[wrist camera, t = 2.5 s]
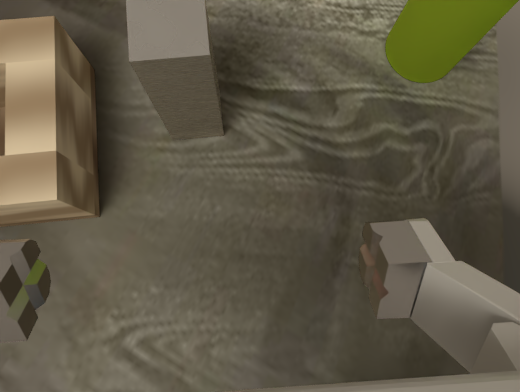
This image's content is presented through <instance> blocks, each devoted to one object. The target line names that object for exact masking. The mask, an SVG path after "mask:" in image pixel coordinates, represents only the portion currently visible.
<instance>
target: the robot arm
mask: <svg viewBox="0 0 520 392" xmlns="http://www.w3.org/2000/svg"><path fill="white" fill-rule="evenodd" d="M362 236H363V238H364V241H365V244H364V245H363V246H362V247H361V248H360V251H359V271H360V275H361V279H362V281H363V284H364V285H365V286H367V287H368V288H369V289H370V292H369V297H368V298H369V301H370V303H371V306H372V308H373V311H374V314H375V316H376V319H385V318H411V320H412V321H413V322H414V323H415V324H416V325H418V326H419V327H420V328H421V329H422V330H423V331H424V332H425V333H426V334H428V335H429V336H430V337H431V338H432V339H433V340H434V341H435V342H436V343H437V344H439V345H440V346H441V347H442V348H443V349H444V350H445V351H446V352H447V353H449V354H450V355H451V356H452V357H453V358H454V359H455V360H456V361H457V362H459V363H460V364H461V365H462V366H463V367H464V368H465V369H466V370H467V371H468V372H470V374H462V375H447V376H433V377H418V378H404V379H389V380H375V381H360V382H346V383H332V384H317V385H303V386H289V387H275V388H260V389H246V390H232V391H217V392H520V294H519V293H518V292H516V291H514V290H512V289H511V288H509V287H507V286H505V285H504V284H502V283H500V282H498V281H496V280H495V279H493V278H491V277H489V276H488V275H486V274H484V273H482V272H481V271H479V270H477V269H475V268H473V267H472V266H470V265H468V264H466V263H465V262H463V261H455V259H454V258H453V256H452V255H451V253H450V252H449V250H448V249H447V247H446V246H445V244H444V243H443V241H442V240H441V238H440V237H439V236H438V234H437V233H436V231H435V230H434V228H433V227H432V225H431V224H430V222H429V221H428V220H427V219H425V218H418V219H405V220H397V221H379V222H366V223H365V225H364V227H363V232H362ZM40 252H41V251H40V249H39V247H38V244H37V242H36V241H34V240H31V239H19V240H0V343H5V342H16V341H27V340H28V338H29V335H30V333H31V331H32V329H33V327H34V325H35V323H36V321H37V319H38V316H37V314H36V311H35V310H36V309H37V308H39V307H40V306H41V305H43V304H44V303H45V302H46V299H47V297H48V295H49V292H50V284H51V279H50V272H49V270H48V267H47V265H46V264H44V263H43V262H41V261H40V260H39V259H37V258H38V256H39V254H40Z"/></svg>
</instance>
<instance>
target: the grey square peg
mask: <svg viewBox="0 0 520 392" xmlns="http://www.w3.org/2000/svg"><path fill="white" fill-rule="evenodd" d="M126 9H127V28H128V47H129V62H130V64H131V66H132V68H133V69H134V71H135V73H136V75H137V76H138V78H139V80H140V82H141V84H142V85H143V87H144V89H145V91H146V93H147V94H148V96H149V98H150V100H151V102H152V103H153V105H154V107H155V109H156V111H157V112H158V114H159V116H160V118H161V120H162V121H163V123H164V125H165V127H166V129H167V130H168V132H169V134H170V136H171V138H172V139H173V140H182V139H193V138H203V137H214V136H224V131H223V121H222V110H221V100H220V89H219V83H218V76H217V70H216V63H215V57H214V51H213V44H212V38H211V31H210V25H209V18H208V12H207V6H206V0H126Z"/></svg>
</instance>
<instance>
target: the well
mask: <svg viewBox="0 0 520 392" xmlns="http://www.w3.org/2000/svg"><path fill="white" fill-rule="evenodd" d="M93 217H100V212H99V183H98V154H97V125H96V97H95V70H94V69H93V67H92V66H91V65H90V63H89V62H88V61H87V59H86V58H85V57H84V55H83V54H82V53H81V51H80V50H79V49H78V47H77V46H76V45H75V43H74V42H73V41H72V39H71V38H70V37H69V35H68V34H67V32H66V31H65V30H64V28H63V27H62V26H61V24H60V23H59V22H58V20H57V19H56V18H55V16H48V17H35V18H22V19H10V20H0V227H4V226H14V225H24V224H34V223H44V222H53V221H63V220H73V219H83V218H93Z"/></svg>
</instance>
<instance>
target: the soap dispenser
mask: <svg viewBox="0 0 520 392" xmlns="http://www.w3.org/2000/svg"><path fill="white" fill-rule="evenodd" d="M518 1H519V0H408V2H407V4H406V5H405V7H404V9H403V11H402V12H401V14H400V16H399V17H398V19H397V21H396V23H395V24H394V26H393V28H392V30H391V31H390V33H389V35H388V37H387V40H386V47H385V48H386V56H387V59H388V61H389V63H390V65H391V66H392V68H393V69H394V70H395V71H396V72H397V73H398V74H399V75H401V76H402V77H404V78H406V79H408V80H410V81H414V82H419V83H428V82H433V81H436V80H439V79H441V78H442V77H444V76H445V75H446V74H447V73H448V72H449V71H450V70H451V69H452V68H453V67H454V66H455V65H456V64H457V63H458V62H459V61H460V60H461V59H462V58H463V57H464V56H465V55H466V54H467V53H468V52H469V51H470V50H471V49H472V48H473V47H474V46H475V45H476V44H477V43H478V42H479V41H480V40H481V38H482V37H483V36H484V35H485V34H486V33H487V32H488V31H489V30H490V29H491V28H492V27H493V26H494V25H495V24H496V23H497V22H498V21H499V20H500V19H501V18H502V17H503V16H504V15H505V14H506V13H507V12H508V11H509V10H510V9H511V8H512V7H513V6H514V5H515V4H516V3H517V2H518Z"/></svg>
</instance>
